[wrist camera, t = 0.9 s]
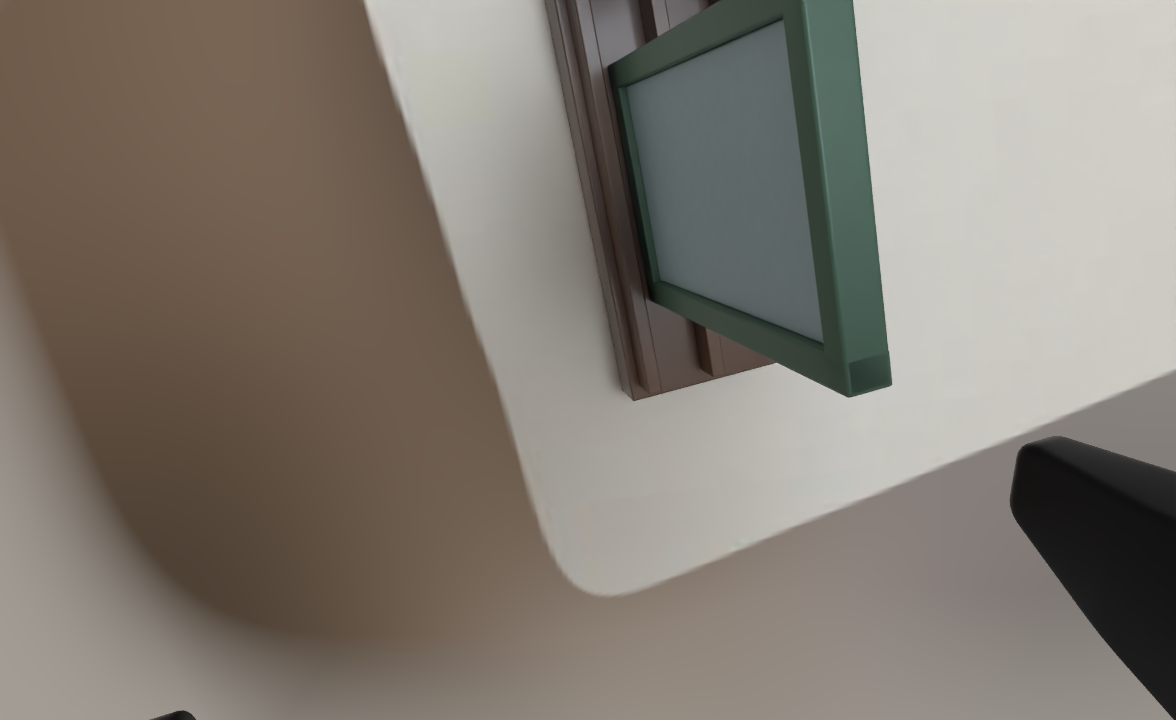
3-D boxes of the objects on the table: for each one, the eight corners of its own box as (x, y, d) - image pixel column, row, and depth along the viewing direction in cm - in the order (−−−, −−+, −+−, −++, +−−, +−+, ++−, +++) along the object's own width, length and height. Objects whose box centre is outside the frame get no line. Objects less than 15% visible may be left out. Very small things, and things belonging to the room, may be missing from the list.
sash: (677, 294, 28) (893, 386, 15) (650, 301, 27) (848, 399, 15) (636, 59, 26) (849, -55, 13) (607, 65, 25) (795, -46, 13)
